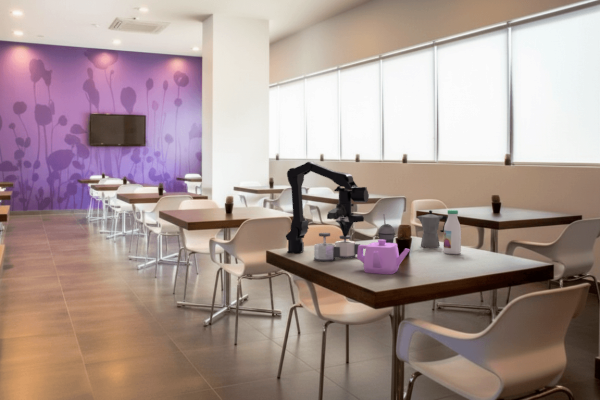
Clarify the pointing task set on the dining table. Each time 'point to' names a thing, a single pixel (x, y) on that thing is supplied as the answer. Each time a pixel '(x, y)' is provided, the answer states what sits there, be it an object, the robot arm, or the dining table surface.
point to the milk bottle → (452, 234)
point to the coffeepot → (431, 229)
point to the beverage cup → (386, 232)
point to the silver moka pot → (326, 252)
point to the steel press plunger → (324, 237)
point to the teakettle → (381, 257)
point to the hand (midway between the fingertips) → (345, 236)
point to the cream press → (347, 248)
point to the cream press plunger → (345, 237)
